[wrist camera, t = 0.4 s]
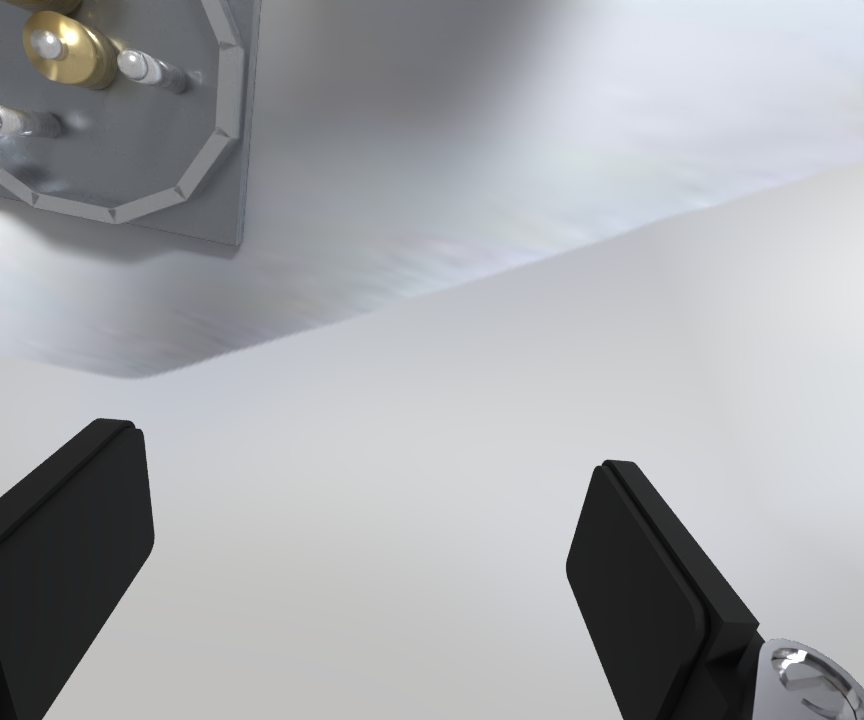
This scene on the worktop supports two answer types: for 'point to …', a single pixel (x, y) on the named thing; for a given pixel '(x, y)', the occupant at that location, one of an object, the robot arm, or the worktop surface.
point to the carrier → (130, 110)
